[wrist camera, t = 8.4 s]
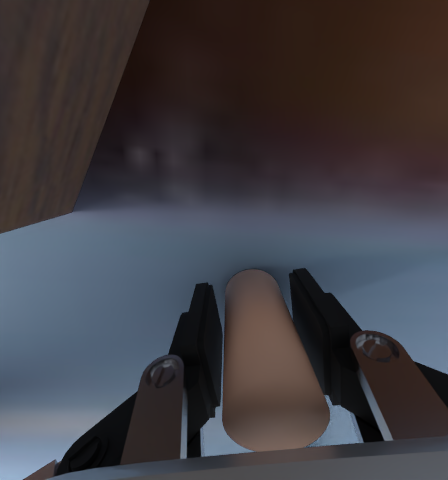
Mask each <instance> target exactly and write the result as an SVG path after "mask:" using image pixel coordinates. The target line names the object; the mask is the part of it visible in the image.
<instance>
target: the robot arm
mask: <svg viewBox="0 0 448 480" xmlns="http://www.w3.org/2000/svg"><path fill="white" fill-rule="evenodd" d="M289 278H290V289H291V300H292V311H293V321H294V325H295V327H296V330H297V332H298V334H299V337H300V339H301V342H302V344H303V346H304V349H305V351H306V354H307V356H308V358H309V361H310V363H311V366H312V368H313V370H314V373H315V375H316V378H317V380H318V382H319V385H320V387H321V390H322V392H323V394H324V395H329V398H330V400H331V402H332V405H341V406H342V407H343V408H345V409H347V410H348V411H350V416H351V419H352V422H353V425H354V428H355V431H356V434H357V437H358V440H359V443H355V444H342V445H331V446H319V447H308V448H296V449H285V450H273V451H262V452H251V453H239V454H228V455H218V456H207V457H204V436H203V425H204V424H205V423H206V422H207V421H208V420H209V418H214V417H215V408H216V407H218V406H220V400H221V371H222V341H223V334H222V327H221V322H220V318H219V313H218V309H217V304H216V299H215V295H214V290H213V286H212V285H208V283H200V284H196V286H195V290H194V294H193V297H192V301H191V304H190V308H189V312H185V313H182V314H181V316H180V319H179V322H178V325H177V328H176V331H175V335H174V338H173V341H172V344H171V347H170V350H169V353H168V355H165V356H162V357H159V358H157V359H156V360H154V361H153V362H152V363H150V364H149V365H148V366H147V368H146V369H145V370H144V372H143V374H142V377H141V380H140V384H139V388H138V391H137V392H136V393H135V394H133V395H132V396H131V397H130V398H128V399H127V400H126V401H125V402H123V403H122V404H121V405H120V406H118V407H117V408H116V409H115V410H113V411H112V412H111V413H110V414H108V415H107V416H106V417H105V418H103V419H102V420H101V421H100V422H98V423H97V424H96V425H95V426H93V427H92V428H91V429H90V430H88V431H87V432H86V433H85V434H83V435H82V436H81V437H80V438H79V439H78V440H77V441H76V442H75V443H74V444H73V445H72V446H71V447H70V448H69V450H68V451H67V452H66V453H65V455H64V457H63V459H62V461H60V462H59V463H58V462H57V461H56V459H55V460H54V461H52V462H50V463H49V464H47V465H46V466H44V467H42V468H41V469H39V470H38V471H36V472H34V473H33V474H31V475H30V476H28V477H26V478H25V479H23V480H448V374H445V373H442V372H440V371H437V370H435V369H432V368H430V367H427V366H425V365H422V364H420V363H417V362H414V361H413V360H412V359H411V357H410V356H409V355H408V353H407V352H406V350H405V349H404V348H403V346H402V345H401V344H400V343H399V342H398V341H396V340H395V339H393V338H392V337H390V336H388V335H386V334H383V333H380V332H376V331H368V330H366V331H362V330H361V329H360V327H359V326H358V325H357V324H356V323H355V321H354V320H353V319H352V318H351V316H350V315H349V314H348V313H347V311H346V310H345V309H344V308H343V307H342V305H341V304H340V303H339V302H338V300H337V299H336V298H335V297H334V295H333V294H332V293H324V292H323V290H322V289H321V288H320V286H319V285H318V284H317V282H316V281H315V280H314V278H313V277H312V276H311V275H310V273H309V272H308V271H307V269H306V268H302V269H295V270H293V273H290V274H289Z"/></svg>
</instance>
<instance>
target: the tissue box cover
mask: <svg viewBox="0 0 448 480" xmlns="http://www.w3.org/2000/svg"><path fill="white" fill-rule="evenodd" d="M149 2H150V0H0V234H1V233H4V232H8V231H11V230H14V229H18V228H21V227H24V226H28V225H31V224H35V223H38V222H41V221H45V220H48V219H51V218H55V217H58V216H61V215H65V214H68V213H72V211H73V208H74V205H75V203H76V200H77V197H78V195H79V192H80V189H81V186H82V184H83V181H84V178H85V176H86V173H87V170H88V167H89V165H90V162H91V159H92V157H93V154H94V151H95V148H96V146H97V143H98V140H99V138H100V135H101V132H102V129H103V127H104V124H105V121H106V118H107V116H108V113H109V110H110V108H111V105H112V102H113V99H114V97H115V94H116V91H117V89H118V86H119V83H120V80H121V78H122V75H123V72H124V70H125V67H126V64H127V61H128V59H129V56H130V53H131V51H132V48H133V45H134V42H135V40H136V37H137V34H138V31H139V29H140V26H141V23H142V21H143V18H144V15H145V12H146V10H147V7H148V4H149Z"/></svg>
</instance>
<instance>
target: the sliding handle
mask: <svg viewBox="0 0 448 480" xmlns="http://www.w3.org/2000/svg"><path fill="white" fill-rule="evenodd" d="M329 420H330V410H329V407H328V404H327V402H326V399H325V397H324V394H323V392H322V390H321V387H320V385H319V382H318V380H317V378H316V375H315V373H314V370H313V368H312V366H311V363H310V361H309V358H308V356H307V354H306V351H305V349H304V346H303V344H302V342H301V339H300V337H299V334H298V332H297V330H296V327H295V325H294V322H293V320H292V318H291V315H290V313H289V310H288V308H287V306H286V303H285V301H284V298H283V296H282V294H281V291H280V289H279V286H278V284H277V282H276V280H275V279H274V278H273V277H272V276H271V275H270V274H268V273H267V272H264V271H262V270H257V269H249V270H244V271H241V272H239V273H237V274H236V275H234V276H233V277H232V278H231V279H230V281H229V282H228V284H227V286H226V290H225V327H224V369H223V411H222V421H223V426H224V429H225V431H226V433H227V434H228V435H229V437H230V438H231V439H232V440H233V441H235V442H236V443H237V444H239V445H241V446H242V447H245V448H247V449H249V450H253V451H256V452H262V451H273V450H285V449H296V448H304V447H306V446H308V445H310V444H311V443H313V442H314V441H316V440H317V439H318V438H319V437H320V436H321V435H322V434H323V433H324V431H325V430H326V428H327V426H328V424H329Z"/></svg>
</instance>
